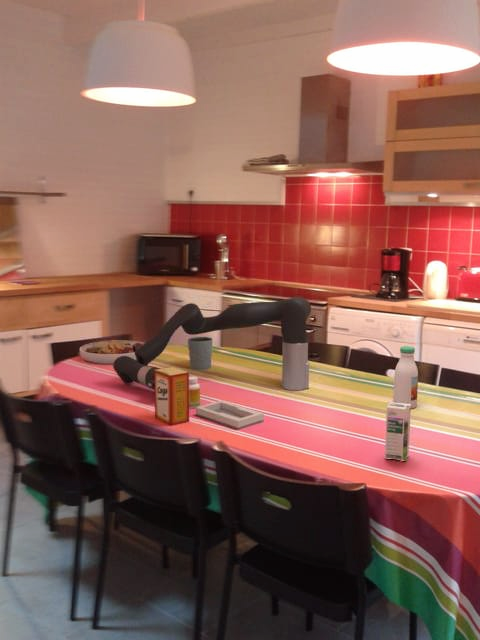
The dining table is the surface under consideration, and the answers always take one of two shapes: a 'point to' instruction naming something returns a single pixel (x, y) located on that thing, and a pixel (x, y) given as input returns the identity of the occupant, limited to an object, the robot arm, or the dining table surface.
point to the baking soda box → (171, 395)
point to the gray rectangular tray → (229, 414)
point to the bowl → (109, 350)
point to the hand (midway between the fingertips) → (182, 386)
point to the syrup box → (397, 431)
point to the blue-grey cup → (200, 352)
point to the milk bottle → (406, 378)
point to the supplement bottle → (194, 392)
